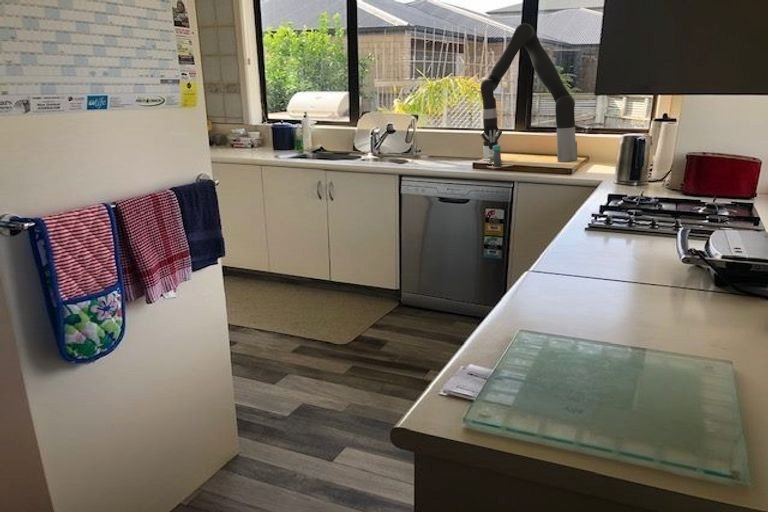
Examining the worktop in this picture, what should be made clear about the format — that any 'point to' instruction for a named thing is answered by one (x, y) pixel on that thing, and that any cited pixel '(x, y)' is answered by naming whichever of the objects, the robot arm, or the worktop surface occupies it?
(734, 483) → the worktop surface
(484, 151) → the jar
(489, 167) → the paper
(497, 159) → the marker
